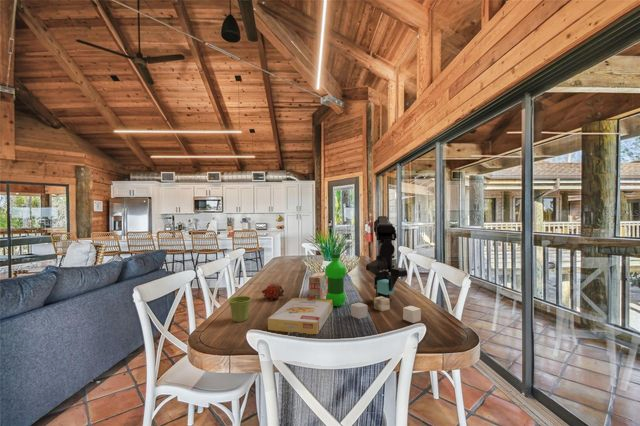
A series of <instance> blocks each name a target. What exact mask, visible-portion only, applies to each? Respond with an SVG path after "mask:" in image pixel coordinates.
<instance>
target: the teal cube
mask: <svg viewBox="0 0 640 426" xmlns="http://www.w3.org/2000/svg"><path fill="white" fill-rule="evenodd" d="M376 286H377V292H378V293H381V294H385V295H388V294H390V295H392V294H395V286H394V287H393V289H392V291H389V280H387V279H383V280H378V281H377V285H376Z"/></svg>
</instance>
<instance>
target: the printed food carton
mask: <svg viewBox="0 0 640 426" xmlns="http://www.w3.org/2000/svg"><path fill="white" fill-rule="evenodd" d="M308 292H309V293H308V298H310V299H322V298H323V297H324V296H325V295H326V294H327V292H328V277H327V276H326V274H325V272H322V271H321V272H318V271H317V272H315V273H313V274H311V275H310V276H309V277H308ZM325 297H326V296H325ZM325 297H324V298H325ZM324 298H323V299H324Z"/></svg>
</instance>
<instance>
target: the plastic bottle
mask: <svg viewBox="0 0 640 426" xmlns="http://www.w3.org/2000/svg"><path fill="white" fill-rule="evenodd" d="M330 257H331V259H332V261H330V262H329V263H328V264H327V265H326V266H325V269H324V273H325V274H326V276H327V277H328V292H327V295H326V296H325V299H332V300H333V307H334V306H339V307H341V306H342V305H343V304H344V303H345V301H346V299H347V295H346V293H345V290H344V289H345V279H344V278H345V276H346V274H347V267H346V265H344V263H342V262H341V261H340V258H341V254H340V253H339V252H337V253H336V252H335V253H331V254H330ZM340 305H341V306H340Z"/></svg>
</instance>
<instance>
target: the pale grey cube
mask: <svg viewBox="0 0 640 426" xmlns="http://www.w3.org/2000/svg"><path fill="white" fill-rule="evenodd" d="M350 316H351V317H353V318H355V319H358V320H361V319H363V318H367V317H368V305H367V304H365V303H362V302H359V301H358V302H355V303H351V304H350Z"/></svg>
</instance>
